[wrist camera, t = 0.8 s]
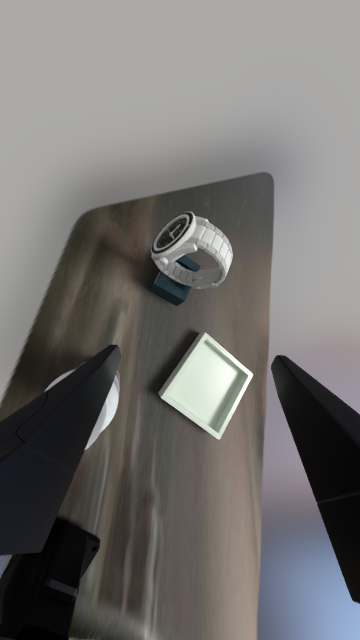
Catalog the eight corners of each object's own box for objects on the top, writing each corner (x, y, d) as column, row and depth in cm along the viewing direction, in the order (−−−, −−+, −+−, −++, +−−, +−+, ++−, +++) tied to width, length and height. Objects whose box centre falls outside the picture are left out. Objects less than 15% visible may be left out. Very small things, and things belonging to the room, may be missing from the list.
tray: (212, 432, 22) (219, 440, 21) (157, 393, 21) (160, 397, 19) (244, 372, 25) (253, 374, 24) (199, 333, 24) (205, 332, 22)
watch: (154, 252, 23) (179, 179, 13) (200, 280, 25) (255, 238, 14) (136, 284, 21) (147, 233, 11) (187, 311, 23) (236, 289, 13)
